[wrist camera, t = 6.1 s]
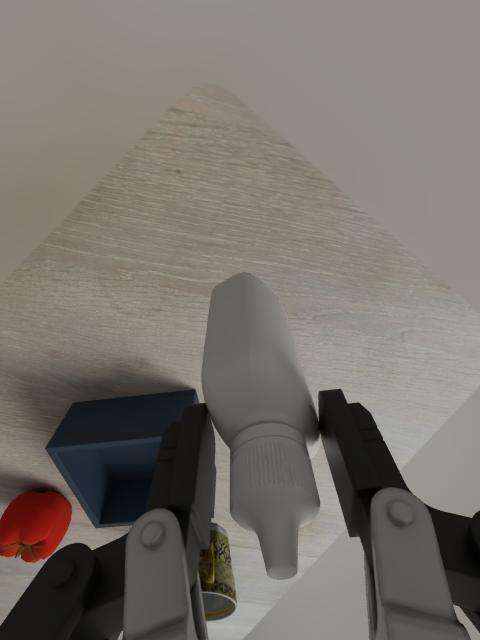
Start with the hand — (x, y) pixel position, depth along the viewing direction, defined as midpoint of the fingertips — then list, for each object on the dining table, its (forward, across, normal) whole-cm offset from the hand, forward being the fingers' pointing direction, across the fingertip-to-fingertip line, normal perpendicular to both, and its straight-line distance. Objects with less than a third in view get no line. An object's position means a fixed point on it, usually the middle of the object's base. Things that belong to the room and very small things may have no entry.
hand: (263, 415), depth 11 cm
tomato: (+22, +35, +36) cm, 55 cm away
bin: (+22, +16, +25) cm, 37 cm away
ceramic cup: (+22, +12, +48) cm, 54 cm away
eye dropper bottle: (+7, 0, 0) cm, 7 cm away
